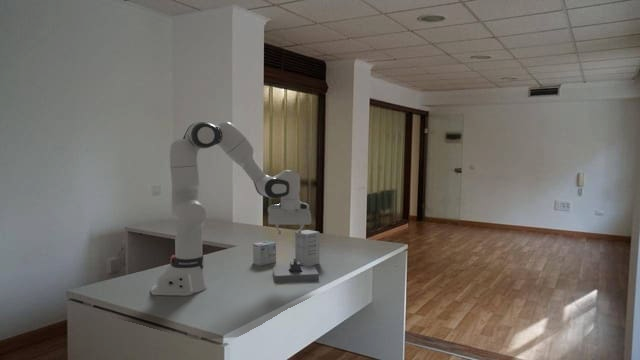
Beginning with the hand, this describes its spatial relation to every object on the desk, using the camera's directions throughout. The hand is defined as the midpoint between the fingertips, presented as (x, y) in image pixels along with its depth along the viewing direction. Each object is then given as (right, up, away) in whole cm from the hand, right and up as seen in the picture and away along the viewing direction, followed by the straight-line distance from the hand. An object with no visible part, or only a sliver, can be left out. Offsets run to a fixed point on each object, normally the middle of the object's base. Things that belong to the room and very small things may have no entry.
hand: (289, 233), depth 208 cm
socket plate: (+3, -20, +1) cm, 20 cm away
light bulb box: (-15, -18, +24) cm, 33 cm away
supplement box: (+8, -19, +24) cm, 31 cm away
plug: (+3, -20, +1) cm, 20 cm away
